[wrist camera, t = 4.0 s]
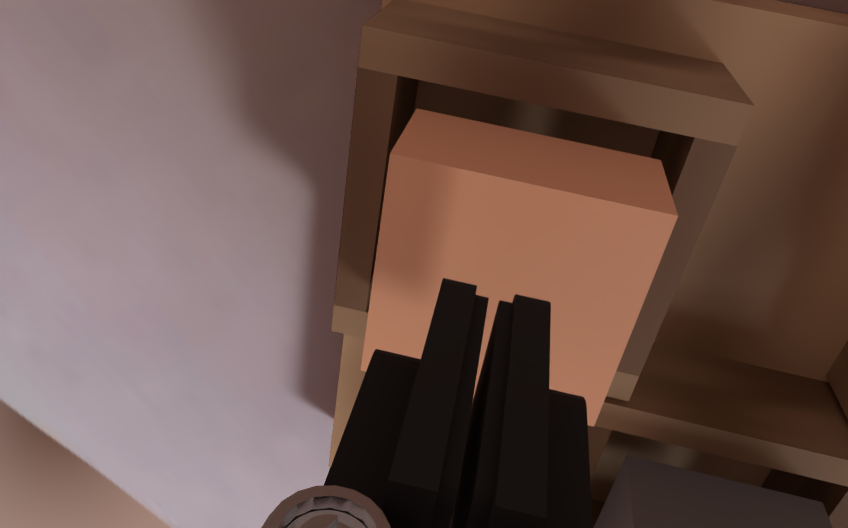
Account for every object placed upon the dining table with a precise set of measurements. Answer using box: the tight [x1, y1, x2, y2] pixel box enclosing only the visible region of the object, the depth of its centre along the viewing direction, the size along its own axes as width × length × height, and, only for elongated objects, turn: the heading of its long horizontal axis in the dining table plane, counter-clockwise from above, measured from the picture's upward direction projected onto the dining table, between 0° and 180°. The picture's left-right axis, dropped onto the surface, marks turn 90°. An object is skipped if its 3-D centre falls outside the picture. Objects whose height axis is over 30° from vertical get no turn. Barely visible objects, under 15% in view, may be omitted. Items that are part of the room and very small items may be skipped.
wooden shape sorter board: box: [329, 0, 848, 528], centre depth 18 cm, size 21×17×5 cm
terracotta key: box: [361, 109, 678, 427], centre depth 13 cm, size 5×5×2 cm
